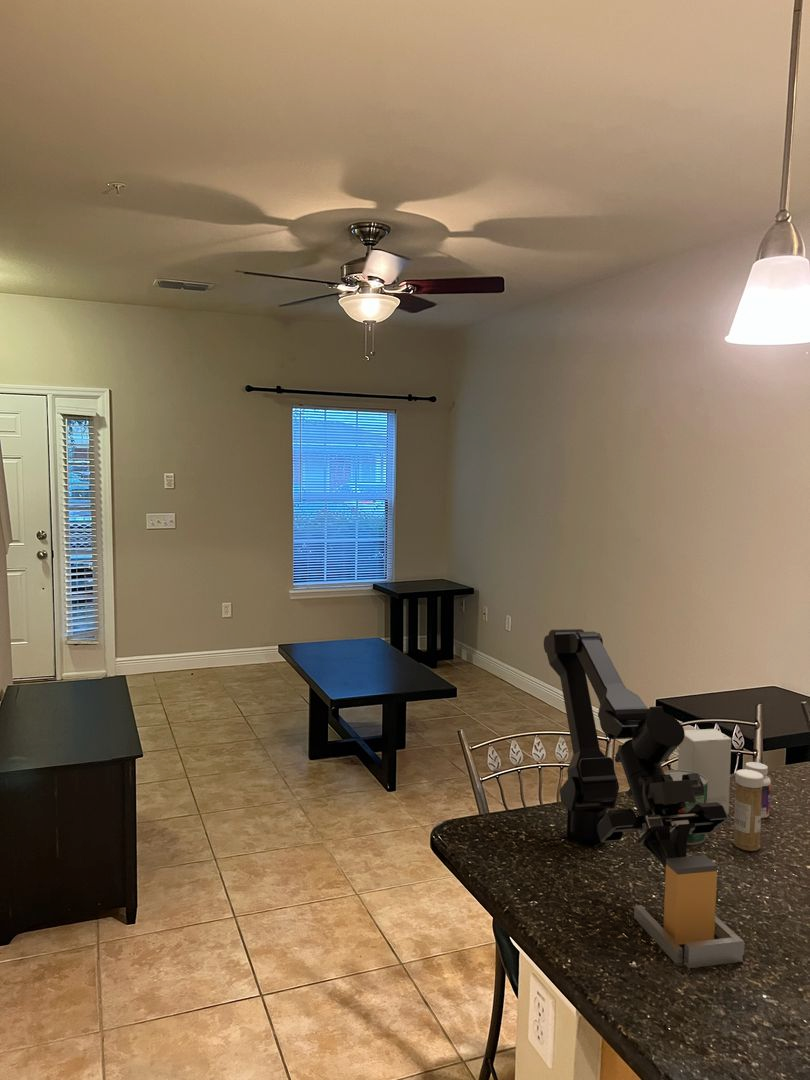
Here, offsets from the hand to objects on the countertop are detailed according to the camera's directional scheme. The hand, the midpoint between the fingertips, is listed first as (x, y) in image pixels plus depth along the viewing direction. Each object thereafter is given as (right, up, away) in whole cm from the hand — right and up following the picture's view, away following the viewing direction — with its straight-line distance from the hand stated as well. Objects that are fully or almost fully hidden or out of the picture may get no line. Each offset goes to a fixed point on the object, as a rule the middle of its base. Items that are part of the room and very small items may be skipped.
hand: (683, 881), depth 108 cm
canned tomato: (+12, -6, +33) cm, 36 cm away
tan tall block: (0, -7, -1) cm, 7 cm away
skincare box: (+20, -6, +44) cm, 49 cm away
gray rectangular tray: (0, -8, +1) cm, 8 cm away
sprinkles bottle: (+22, -7, +29) cm, 37 cm away
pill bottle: (+30, -6, +43) cm, 53 cm away
